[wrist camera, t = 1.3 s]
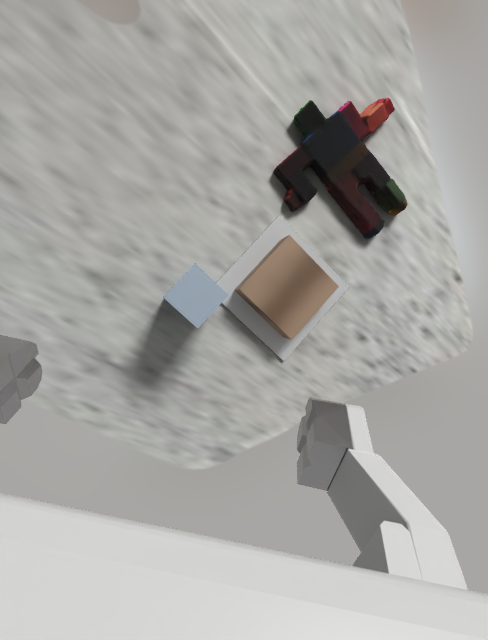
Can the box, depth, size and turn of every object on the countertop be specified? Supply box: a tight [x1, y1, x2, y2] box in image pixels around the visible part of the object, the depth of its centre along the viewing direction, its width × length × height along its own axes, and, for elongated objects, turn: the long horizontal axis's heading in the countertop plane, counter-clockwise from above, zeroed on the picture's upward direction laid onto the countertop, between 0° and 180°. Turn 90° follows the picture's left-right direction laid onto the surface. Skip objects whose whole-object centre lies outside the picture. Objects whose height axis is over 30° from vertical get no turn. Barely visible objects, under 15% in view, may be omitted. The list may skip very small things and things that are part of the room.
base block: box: [235, 235, 339, 340], centre depth 40 cm, size 8×8×3 cm
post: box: [163, 263, 229, 329], centre depth 36 cm, size 4×4×9 cm
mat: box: [216, 215, 349, 361], centre depth 42 cm, size 12×12×1 cm
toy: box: [274, 98, 407, 239], centre depth 42 cm, size 15×16×3 cm
